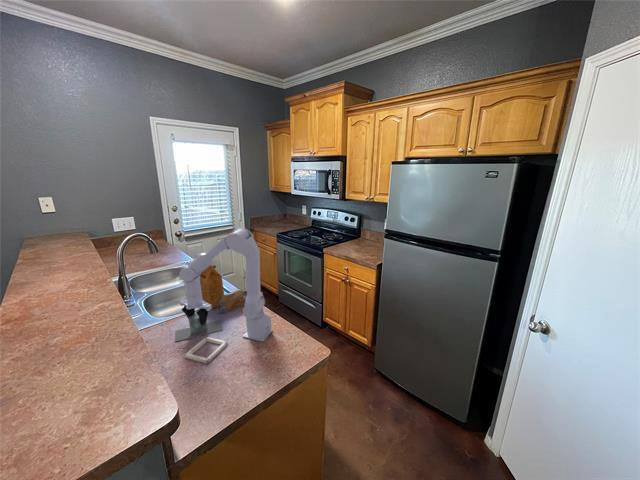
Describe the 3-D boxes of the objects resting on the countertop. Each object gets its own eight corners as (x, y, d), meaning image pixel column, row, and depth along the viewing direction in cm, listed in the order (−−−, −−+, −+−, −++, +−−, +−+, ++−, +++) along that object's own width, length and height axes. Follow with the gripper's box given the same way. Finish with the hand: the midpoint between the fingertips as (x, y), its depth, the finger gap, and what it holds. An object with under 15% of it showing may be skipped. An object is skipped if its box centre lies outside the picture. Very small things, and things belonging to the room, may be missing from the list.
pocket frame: (227, 344, 101) (227, 341, 101) (207, 363, 91) (207, 360, 91) (206, 339, 105) (206, 336, 104) (185, 357, 95) (184, 354, 94)
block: (207, 327, 111) (205, 313, 110) (198, 334, 107) (196, 319, 105) (199, 326, 113) (197, 311, 111) (190, 332, 108) (188, 317, 106)
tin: (219, 315, 121) (217, 299, 119) (216, 313, 124) (214, 297, 121) (248, 304, 132) (247, 289, 129) (245, 302, 134) (243, 287, 132)
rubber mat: (220, 320, 117) (220, 319, 117) (222, 330, 110) (222, 329, 110) (175, 331, 110) (175, 330, 109) (174, 342, 103) (174, 341, 103)
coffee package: (217, 296, 140) (212, 257, 134) (227, 304, 132) (223, 263, 126) (198, 302, 133) (192, 262, 128) (207, 311, 125) (202, 268, 119)
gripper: (171, 295, 104) (176, 324, 108) (200, 300, 99) (205, 331, 103) (185, 287, 110) (190, 316, 114) (213, 292, 106) (217, 321, 109)
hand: (198, 322), depth 109 cm, fingers open, 5 cm apart
